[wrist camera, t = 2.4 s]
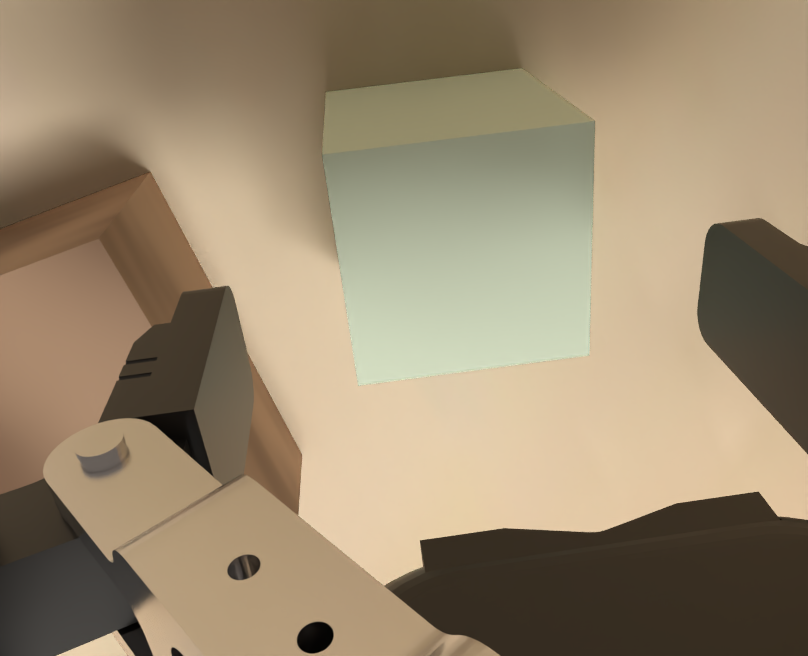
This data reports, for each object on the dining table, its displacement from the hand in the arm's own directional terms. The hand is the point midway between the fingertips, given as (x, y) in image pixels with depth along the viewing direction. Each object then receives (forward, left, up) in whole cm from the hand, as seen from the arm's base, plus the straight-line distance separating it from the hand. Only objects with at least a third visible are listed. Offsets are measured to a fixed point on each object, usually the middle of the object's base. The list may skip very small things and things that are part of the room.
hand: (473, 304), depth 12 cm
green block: (0, 0, -8) cm, 8 cm away
